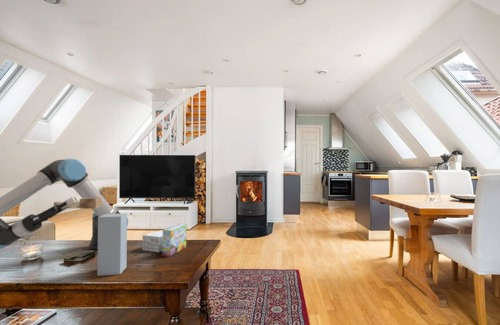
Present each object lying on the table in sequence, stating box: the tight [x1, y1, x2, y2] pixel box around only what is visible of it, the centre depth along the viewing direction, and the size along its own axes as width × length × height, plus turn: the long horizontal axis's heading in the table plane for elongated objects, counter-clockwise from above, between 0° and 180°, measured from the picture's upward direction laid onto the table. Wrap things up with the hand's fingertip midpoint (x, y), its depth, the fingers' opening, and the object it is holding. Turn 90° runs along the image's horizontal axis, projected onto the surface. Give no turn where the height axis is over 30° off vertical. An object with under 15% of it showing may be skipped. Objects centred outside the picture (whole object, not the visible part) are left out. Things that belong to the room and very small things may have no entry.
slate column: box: [96, 212, 128, 277], centre depth 132 cm, size 10×10×27 cm
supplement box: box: [141, 229, 164, 253], centre depth 173 cm, size 17×13×9 cm
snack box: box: [161, 223, 187, 258], centre depth 164 cm, size 21×6×15 cm, turn 168°
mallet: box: [53, 197, 101, 210], centre depth 130 cm, size 19×7×4 cm, turn 99°
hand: (75, 199), depth 130 cm, fingers closed on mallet, 3 cm apart
